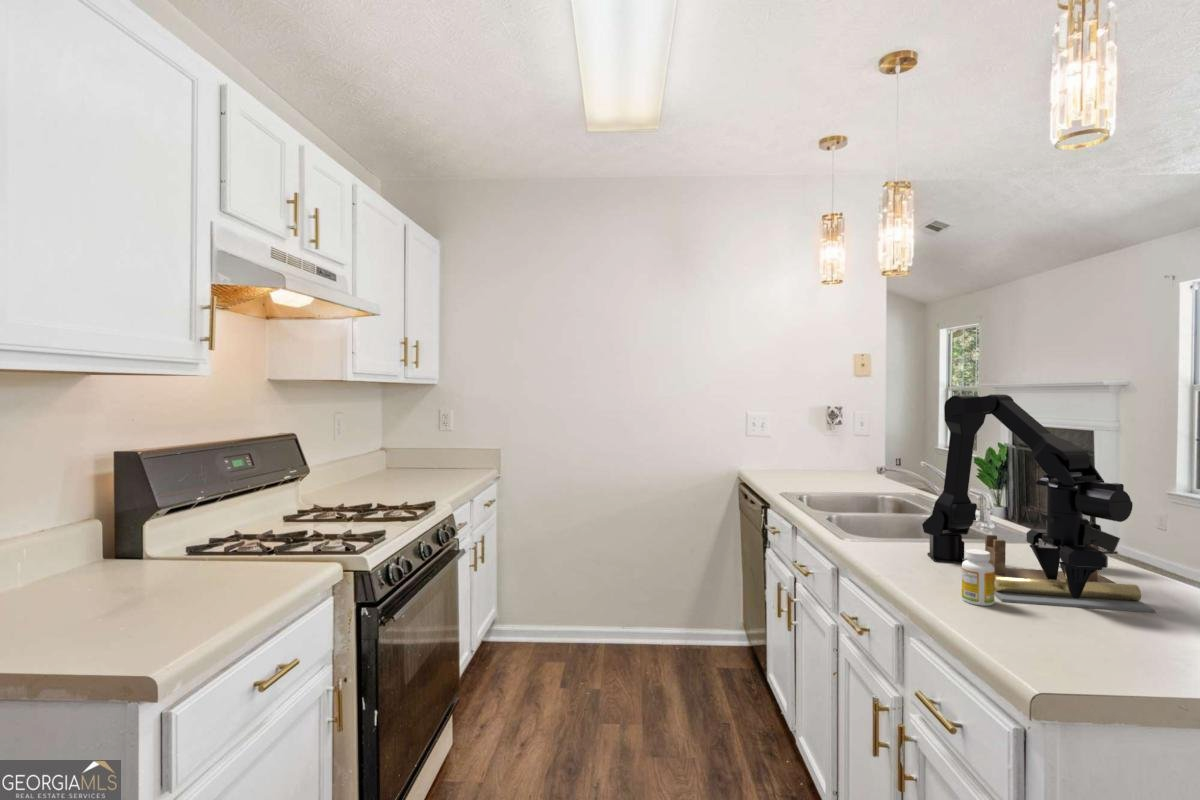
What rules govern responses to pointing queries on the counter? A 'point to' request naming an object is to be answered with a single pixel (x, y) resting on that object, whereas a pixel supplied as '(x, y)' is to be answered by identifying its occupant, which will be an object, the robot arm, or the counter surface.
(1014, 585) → the brass rail
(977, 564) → the supplement bottle
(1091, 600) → the slate mat
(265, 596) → the counter surface
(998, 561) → the cradle rack
